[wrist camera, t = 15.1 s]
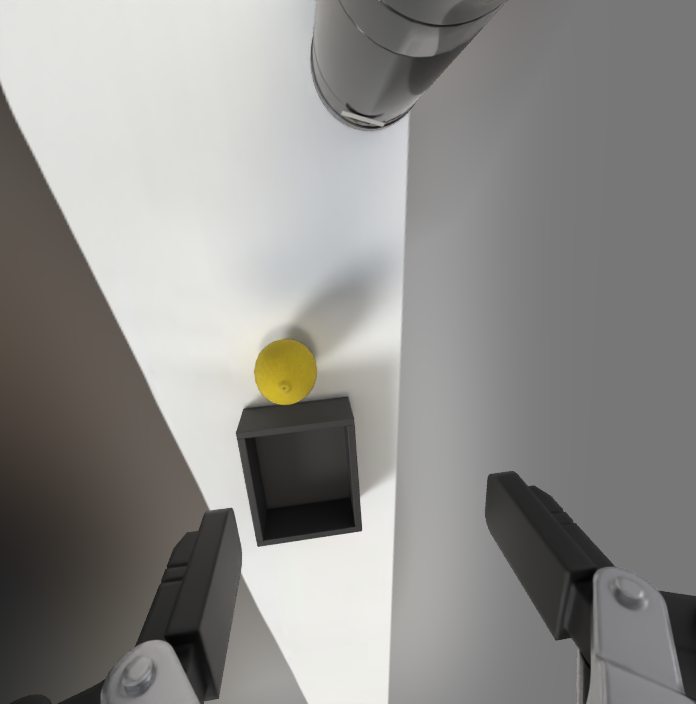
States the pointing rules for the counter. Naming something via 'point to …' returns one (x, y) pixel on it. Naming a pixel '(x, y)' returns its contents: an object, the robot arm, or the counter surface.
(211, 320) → the counter surface
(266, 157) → the counter surface
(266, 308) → the counter surface
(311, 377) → the lemon
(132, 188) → the counter surface
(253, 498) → the tote
